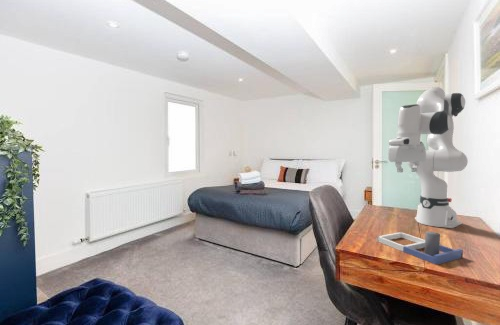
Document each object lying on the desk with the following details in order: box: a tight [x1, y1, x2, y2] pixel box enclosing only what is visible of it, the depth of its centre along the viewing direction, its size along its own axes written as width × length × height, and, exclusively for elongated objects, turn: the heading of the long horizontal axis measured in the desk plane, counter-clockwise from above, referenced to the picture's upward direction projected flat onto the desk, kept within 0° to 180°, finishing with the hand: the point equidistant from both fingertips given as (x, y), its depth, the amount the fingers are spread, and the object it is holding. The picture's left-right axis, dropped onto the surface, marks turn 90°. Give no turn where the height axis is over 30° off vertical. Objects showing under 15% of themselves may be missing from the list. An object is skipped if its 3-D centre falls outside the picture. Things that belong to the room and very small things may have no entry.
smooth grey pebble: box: [424, 230, 441, 257], centre depth 95 cm, size 4×4×8 cm
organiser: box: [376, 231, 464, 265], centre depth 101 cm, size 15×24×3 cm, turn 23°
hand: (407, 172), depth 114 cm, fingers open, 8 cm apart
